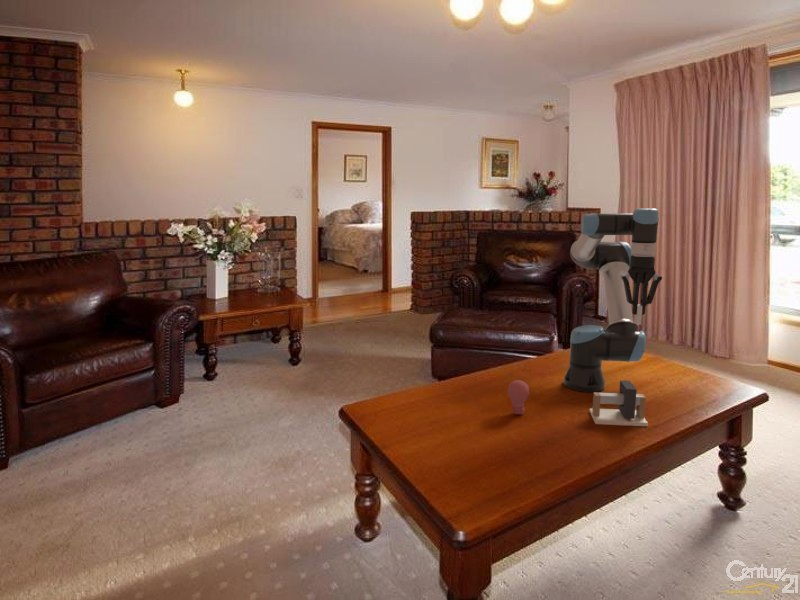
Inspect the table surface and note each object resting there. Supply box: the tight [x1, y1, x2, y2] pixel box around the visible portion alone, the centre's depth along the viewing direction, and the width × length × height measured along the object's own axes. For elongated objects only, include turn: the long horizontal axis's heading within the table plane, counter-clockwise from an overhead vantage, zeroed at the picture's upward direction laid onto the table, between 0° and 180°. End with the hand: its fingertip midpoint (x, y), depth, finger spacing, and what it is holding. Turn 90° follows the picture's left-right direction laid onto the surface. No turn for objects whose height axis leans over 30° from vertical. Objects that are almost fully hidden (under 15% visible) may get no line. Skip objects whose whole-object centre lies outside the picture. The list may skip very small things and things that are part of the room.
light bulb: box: [507, 379, 530, 415], centre depth 179 cm, size 7×7×12 cm
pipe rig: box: [589, 391, 649, 427], centre depth 174 cm, size 16×10×9 cm, turn 82°
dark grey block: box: [617, 379, 637, 419], centre depth 173 cm, size 3×8×10 cm, turn 172°
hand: (637, 323), depth 181 cm, fingers closed
